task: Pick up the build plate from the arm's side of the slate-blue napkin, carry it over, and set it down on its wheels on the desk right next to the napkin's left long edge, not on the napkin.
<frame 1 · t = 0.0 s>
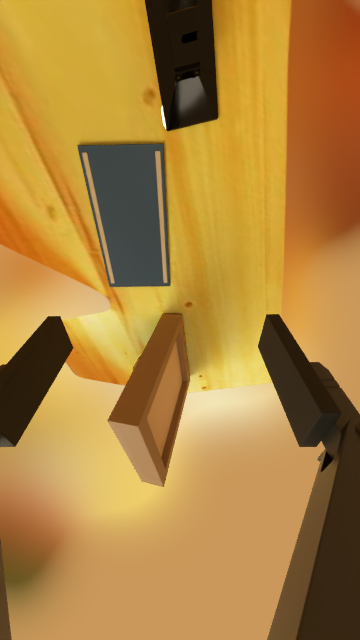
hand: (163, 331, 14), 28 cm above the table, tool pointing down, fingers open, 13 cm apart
photo frame: (157, 349, 54), on the table
build plate: (184, 57, 26), on the table
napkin: (132, 227, 37), on the table
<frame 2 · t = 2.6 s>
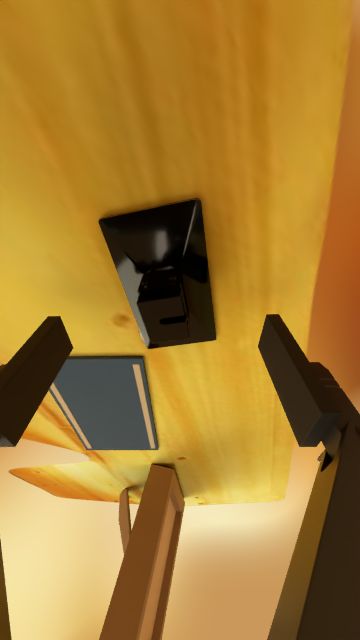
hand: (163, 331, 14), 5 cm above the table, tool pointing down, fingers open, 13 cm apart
photo frame: (146, 483, 47), on the table
build plate: (168, 287, 18), on the table
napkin: (108, 412, 30), on the table
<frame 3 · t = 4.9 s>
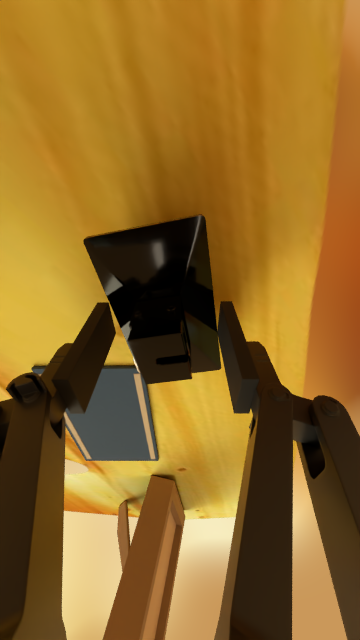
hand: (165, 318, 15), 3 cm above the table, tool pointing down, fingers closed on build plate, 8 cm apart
photo frame: (146, 495, 46), on the table
build plate: (166, 313, 16), point 3 cm above the table, touching gripper
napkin: (109, 421, 30), on the table
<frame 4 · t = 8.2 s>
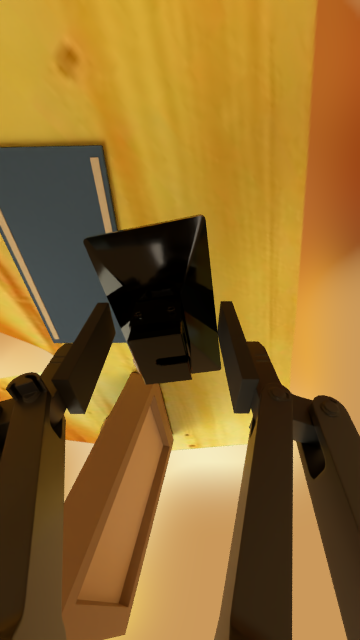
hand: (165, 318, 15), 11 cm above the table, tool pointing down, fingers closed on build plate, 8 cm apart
photo frame: (129, 409, 42), on the table
build plate: (166, 314, 16), point 10 cm above the table, touching gripper
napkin: (72, 269, 25), on the table
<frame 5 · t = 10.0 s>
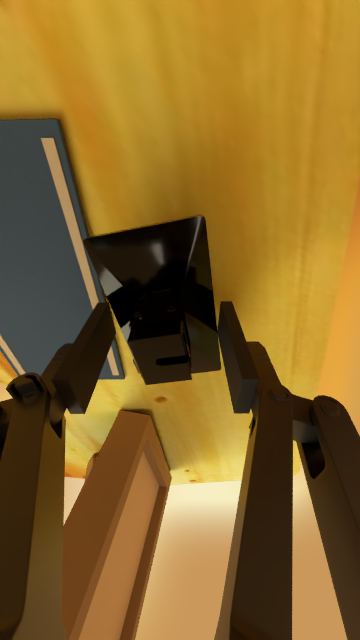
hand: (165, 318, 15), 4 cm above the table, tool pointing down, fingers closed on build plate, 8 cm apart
photo frame: (119, 446, 36), on the table
build plate: (166, 314, 16), point 3 cm above the table, touching gripper
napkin: (34, 293, 19), on the table
when the fingers open (0 cm above the table, at t = 11.5 s): build plate stays where it is, on the table.
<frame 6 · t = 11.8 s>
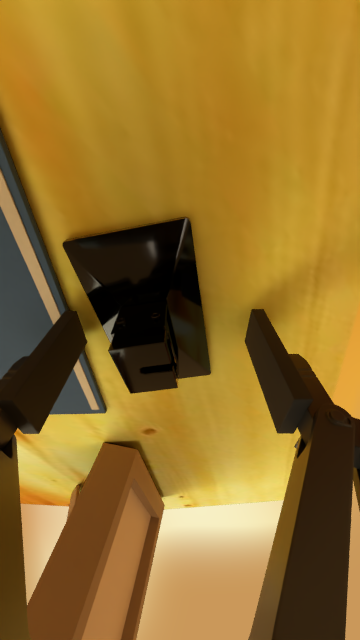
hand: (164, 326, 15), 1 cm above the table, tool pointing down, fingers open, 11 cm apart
photo frame: (105, 476, 32), on the table
build plate: (153, 318, 15), on the table
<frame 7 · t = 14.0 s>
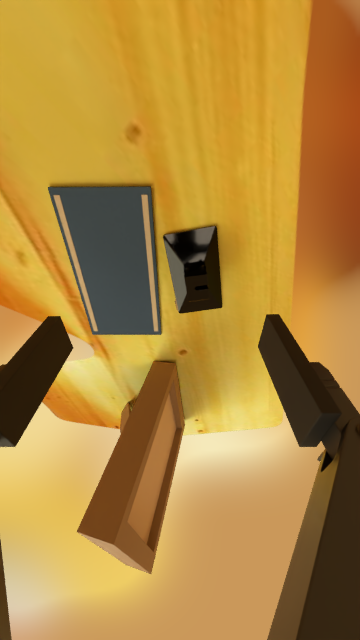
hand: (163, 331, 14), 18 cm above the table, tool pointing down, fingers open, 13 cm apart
photo frame: (148, 395, 49), on the table
build plate: (195, 273, 32), on the table
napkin: (116, 274, 32), on the table
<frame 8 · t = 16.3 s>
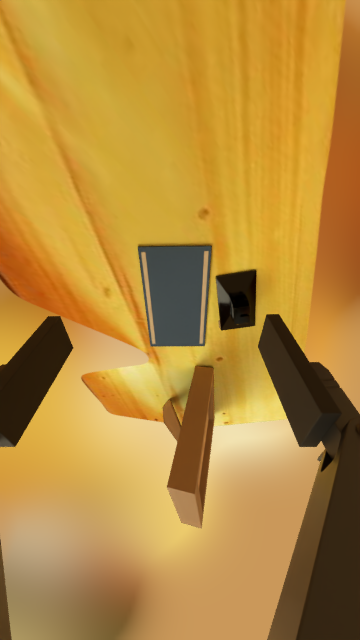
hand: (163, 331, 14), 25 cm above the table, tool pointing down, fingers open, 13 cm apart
photo frame: (186, 393, 59), on the table
build plate: (236, 301, 42), on the table
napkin: (176, 303, 42), on the table
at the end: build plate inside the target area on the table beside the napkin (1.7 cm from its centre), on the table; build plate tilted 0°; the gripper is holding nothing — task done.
